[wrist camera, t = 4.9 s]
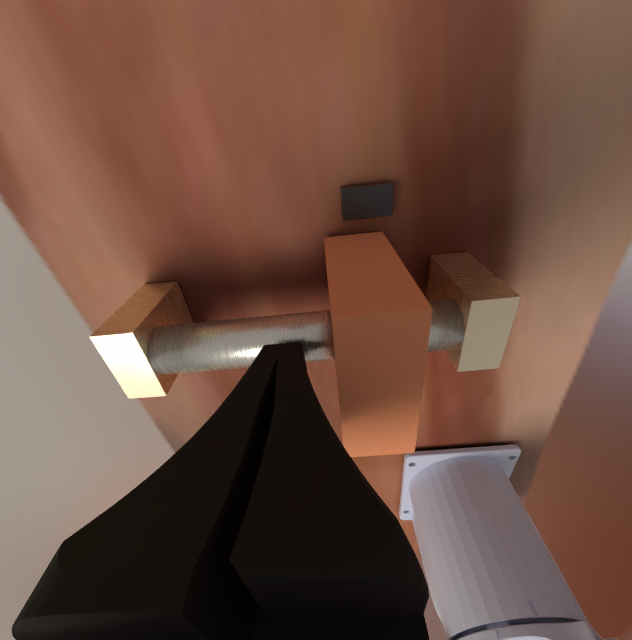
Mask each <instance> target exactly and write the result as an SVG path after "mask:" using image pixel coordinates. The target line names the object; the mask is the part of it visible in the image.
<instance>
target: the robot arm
mask: <svg viewBox="0 0 632 640" xmlns="http://www.w3.org/2000/svg"><path fill="white" fill-rule="evenodd" d="M520 454H521V450H520V448H519V447H518V446H517V445H500V446H486V447H471V448H457V449H443V450H429V451H415V453H407V454H405V456H404V466H403V476H402V486H401V497H400V507H399V516H400V519H402V520H412V522H413V526H414V530H415V534H416V538H417V542H418V545H419V549H420V553H421V557H422V561H423V565H424V569H425V573H426V577H427V581H428V585H429V589H430V593H431V597H432V600H433V604H434V607H435V609H436V612H437V614H438V616H439V618H440V619H441V621H442V623H443V625H444V629H445V633H446V637H447V640H602V638H601V637H600V636H599V635H598V634H597V632H596V631H595V630H594V629H593V628H592V627H591V626H590V624H589V623H588V621H587V619H586V617H585V616H584V614H583V612H582V610H581V609H580V607H579V605H578V603H577V601H576V599H575V598H574V596H573V594H572V592H571V590H570V589H569V587H568V585H567V583H566V581H565V580H564V578H563V576H562V574H561V572H560V570H559V569H558V567H557V565H556V563H555V561H554V560H553V558H552V556H551V554H550V552H549V551H548V549H547V547H546V545H545V543H544V542H543V540H542V538H541V536H540V534H539V532H538V531H537V529H536V527H535V525H534V524H533V522H532V520H531V518H530V516H529V514H528V513H527V511H526V509H525V507H524V505H523V504H522V502H521V500H520V498H519V496H518V494H517V493H516V491H515V489H514V487H513V485H512V484H511V482H510V480H509V478H510V476H511V474H512V471H513V469H514V467H515V465H516V463H517V460H518V458H519V456H520ZM428 598H429V592H428V586H427V583H426V580H425V577H424V574H423V571H422V569H421V566H420V564H419V562H418V559H417V557H416V555H415V553H414V551H413V549H412V547H411V545H410V543H409V541H408V539H407V537H406V535H405V533H404V531H403V529H402V527H401V525H400V523H399V521H398V519H397V518H396V517H395V515H394V514H393V513H392V512H391V510H390V509H389V508H388V507H387V506H386V504H385V503H384V502H383V501H382V499H381V498H380V497H379V496H378V494H377V493H376V492H375V490H374V489H373V488H372V487H371V485H370V484H369V482H368V481H367V480H366V478H365V477H364V476H363V474H362V473H361V472H360V470H359V469H358V467H357V466H356V464H355V463H354V461H353V460H352V458H351V457H350V455H349V454H348V452H347V451H346V449H345V448H344V446H343V445H342V443H341V442H340V440H339V438H338V437H337V435H336V433H335V432H334V430H333V428H332V426H331V425H330V423H329V421H328V419H327V417H326V415H325V413H324V411H323V409H322V407H321V405H320V403H319V401H318V399H317V397H316V394H315V392H314V390H313V387H312V385H311V382H310V379H309V376H308V374H307V368H306V361H305V355H304V349H303V344H302V343H300V342H292V343H280V344H269V345H264V346H263V347H262V349H261V350H260V352H259V353H258V355H257V356H256V358H255V359H254V361H253V362H252V364H251V365H250V367H249V368H248V370H247V371H246V373H245V374H244V376H243V377H242V378H241V380H240V381H239V382H238V384H237V385H236V387H235V388H234V389H233V391H232V392H231V393H230V394H229V396H228V397H227V398H226V399H225V401H224V402H223V403H222V404H221V406H220V407H219V408H218V409H217V411H216V412H215V413H214V414H213V415H212V416H211V417H210V419H209V420H208V421H207V422H206V423H205V424H204V425H203V426H202V427H201V428H200V429H199V430H198V432H197V433H196V434H195V435H194V436H193V437H192V438H191V439H190V440H189V441H188V442H187V443H186V444H185V445H184V446H183V447H181V448H180V449H179V450H178V451H177V452H176V453H175V454H174V455H173V456H172V457H171V458H170V459H169V460H168V461H166V462H165V463H164V464H163V465H162V466H161V467H160V468H159V469H157V470H156V471H155V472H154V473H153V474H152V475H150V476H149V477H148V478H147V479H146V480H144V481H143V482H142V483H141V484H140V485H138V486H137V487H136V488H135V489H133V490H132V491H131V492H130V493H128V494H127V495H126V496H125V497H123V498H122V499H121V500H119V501H118V502H117V503H115V504H114V505H113V506H112V507H110V508H109V509H107V510H106V511H105V512H103V513H102V514H101V515H99V516H98V517H96V518H95V519H94V520H92V521H91V522H90V523H88V524H87V525H86V526H84V527H83V528H81V529H80V530H79V531H77V532H76V533H75V534H73V535H72V536H70V537H69V538H68V539H66V540H65V541H64V542H63V543H62V544H61V546H60V547H59V549H58V550H57V552H56V554H55V555H54V557H53V559H52V560H51V562H50V564H49V565H48V567H47V569H46V570H45V572H44V574H43V575H42V577H41V579H40V581H39V582H38V584H37V585H36V587H35V589H34V590H33V592H32V594H31V595H30V597H29V599H28V600H27V602H26V604H25V606H24V607H23V609H22V610H21V612H20V614H19V616H18V617H17V619H16V621H15V622H14V624H13V627H12V634H13V637H14V638H15V639H16V640H429V635H428V631H427V627H426V622H425V618H424V611H425V608H426V604H427V601H428ZM603 640H618V639H616V638H606V639H603Z"/></svg>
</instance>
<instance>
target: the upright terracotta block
mask: <svg viewBox="0 0 632 640" xmlns="http://www.w3.org/2000/svg"><path fill="white" fill-rule="evenodd" d="M324 246H325V257H326V268H327V279H328V290H329V301H330V310H331V320H332V330H333V341H334V352H335V366H336V376H337V387H338V397H339V408H340V418H341V429H342V439H343V446H344V448H345V449H346V451H347V452H348V454H349V455H350V457H360V456H375V455H389V454H403V453H415V445H416V437H417V429H418V421H419V413H420V405H421V397H422V389H423V381H424V373H425V365H426V358H427V350H428V342H429V334H430V326H431V318H432V310H433V308H432V307H431V305H430V304H429V302H428V301H427V299H426V298H425V296H424V295H423V293H422V292H421V290H420V288H419V287H418V285H417V284H416V282H415V281H414V279H413V278H412V276H411V275H410V273H409V272H408V270H407V269H406V267H405V265H404V264H403V262H402V261H401V259H400V258H399V256H398V255H397V253H396V252H395V250H394V249H393V247H392V245H391V244H390V242H389V241H388V239H387V238H386V236H385V235H384V233H383V232H382V231H380V232H371V233H361V234H352V235H342V236H333V237H324Z"/></svg>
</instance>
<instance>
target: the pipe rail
mask: <svg viewBox="0 0 632 640" xmlns="http://www.w3.org/2000/svg"><path fill="white" fill-rule="evenodd" d="M393 185H394V183H393V182H391V181H388V182H379V183H370V184H362V185H353V186H344V187H340V191H341V209H342V219H343V221H345V220H354V219H364V218H373V217H382V216H391V215H392V214H393ZM520 298H521V296H520V295H518V294H517V293H516V292H515V291H513V290H512V289H511V288H510V287H509V286H507V285H506V284H505V283H504V282H503V281H501V280H500V279H499V278H498V277H497V276H495V275H494V274H493V273H492V272H491V271H489V270H488V269H487V268H486V267H484V266H483V265H482V264H481V263H480V262H478V261H477V260H476V259H475V258H474V257H472V256H471V255H470V254H469V253H468V252H459V253H450V254H440V255H431V257H430V266H429V275H428V284H427V293H426V299H427V301H428V302H429V304H430V305H431V307H432V308H433V310H432V318H431V326H430V334H429V342H428V350H427V352H433V351H446V353H447V355H448V357H449V358H450V360H451V362H452V363H453V365H454V367H455V369H456V370H457V372H460V371H472V370H484V369H497V368H499V367H500V363H501V360H502V357H503V354H504V350H505V347H506V344H507V341H508V337H509V334H510V331H511V327H512V324H513V321H514V318H515V314H516V311H517V308H518V305H519V301H520ZM90 339H91V340H92V342H93V343H94V345H95V347H96V348H97V349H98V351H99V353H100V354H101V356H102V357H103V359H104V360H105V362H106V364H107V365H108V367H109V368H110V370H111V372H112V373H113V375H114V376H115V378H116V379H117V381H118V383H119V384H120V386H121V387H122V389H123V390H124V392H125V393H126V395H127V397H128V398H129V399H131V398H144V397H156V396H166V395H167V393H168V392H169V390H170V388H171V386H172V384H173V382H174V380H175V379H176V377H177V375H178V373H188V372H200V371H212V370H223V369H235V368H247V367H250V365H251V364H252V362H253V361H254V359H255V358H256V356H257V355H258V353H259V352H260V350H261V349H262V347H263V346H264V345H269V344H280V343H292V342H300V343H302V344H303V349H304V355H305V361H306V362H317V361H328V360H335V352H334V341H333V330H332V320H331V310H324V311H314V312H303V313H292V314H282V315H271V316H261V317H250V318H239V319H229V320H218V321H207V322H197V323H193V320H192V317H191V315H190V312H189V310H188V307H187V305H186V302H185V300H184V297H183V295H182V292H181V289H180V287H179V284H178V282H177V281H173V282H163V283H153V284H144V285H143V286H142V287H141V288H140V289H139V290H138V291H137V292H136V293H135V294H134V295H133V296H132V297H131V298H130V299H129V300H127V301H126V302H125V303H124V304H123V305H122V306H121V307H120V308H119V309H118V310H117V311H116V312H115V313H114V314H113V315H112V316H111V317H110V318H109V319H108V320H106V321H105V322H104V323H103V324H102V325H101V326H100V327H99V328H98V329H97V330H96V331H95V332H94V333H93V334H92V335H91V336H90Z"/></svg>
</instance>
